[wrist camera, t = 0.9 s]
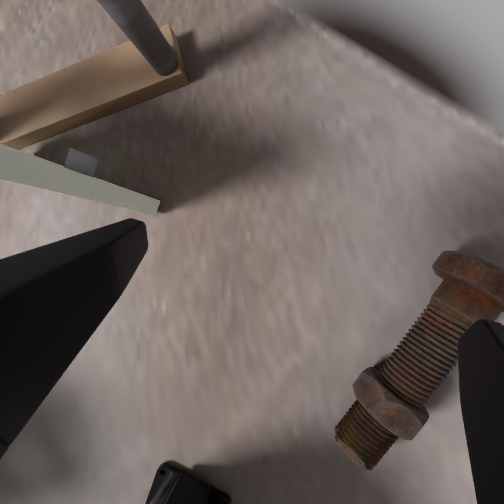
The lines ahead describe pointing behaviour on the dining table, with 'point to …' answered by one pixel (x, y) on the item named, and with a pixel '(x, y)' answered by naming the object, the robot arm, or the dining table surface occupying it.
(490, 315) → the bolt
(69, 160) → the door
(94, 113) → the door frame
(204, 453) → the dining table surface
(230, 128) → the dining table surface
